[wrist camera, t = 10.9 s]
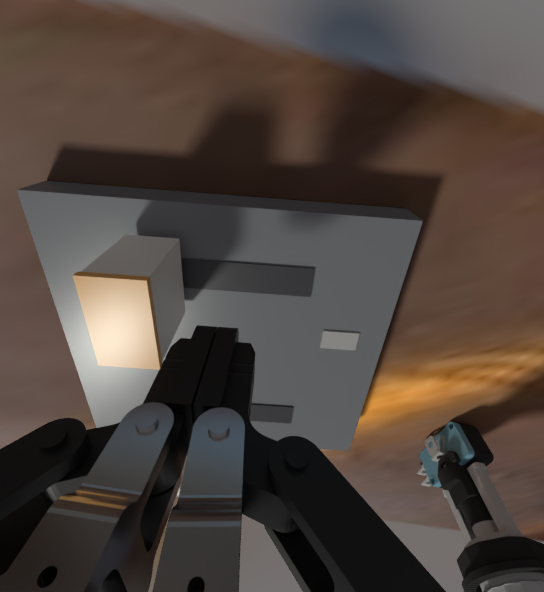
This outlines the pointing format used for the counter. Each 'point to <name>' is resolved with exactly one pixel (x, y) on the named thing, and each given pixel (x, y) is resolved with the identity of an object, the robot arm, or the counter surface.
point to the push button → (481, 515)
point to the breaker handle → (133, 301)
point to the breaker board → (242, 292)
